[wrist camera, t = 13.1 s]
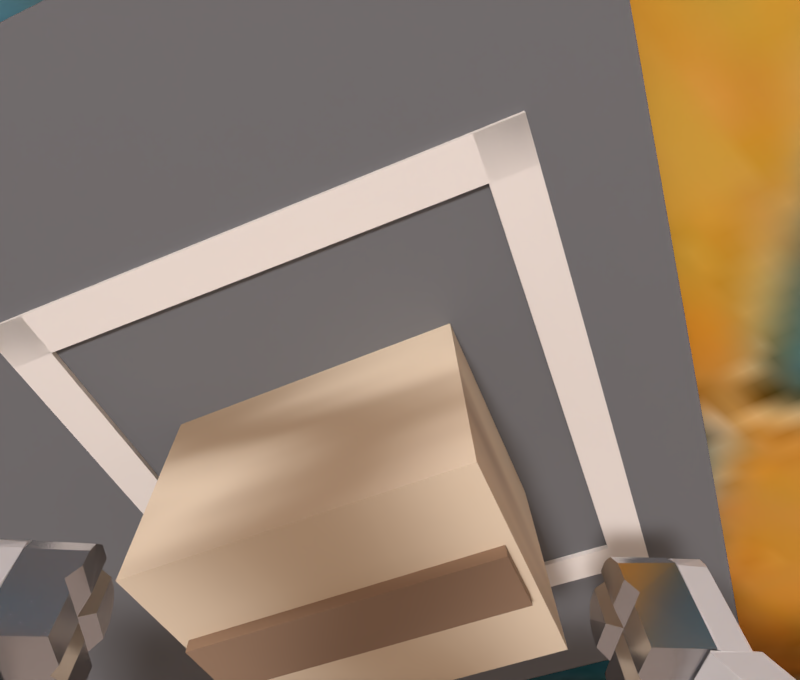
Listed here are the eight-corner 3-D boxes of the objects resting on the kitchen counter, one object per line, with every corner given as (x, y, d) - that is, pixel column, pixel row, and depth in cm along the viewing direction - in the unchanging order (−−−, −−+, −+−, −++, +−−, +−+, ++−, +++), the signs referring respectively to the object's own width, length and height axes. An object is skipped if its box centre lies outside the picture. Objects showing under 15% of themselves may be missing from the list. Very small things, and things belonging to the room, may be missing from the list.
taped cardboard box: (292, 565, 14) (268, 739, 11) (181, 424, 12) (110, 593, 9) (524, 492, 13) (570, 661, 10) (450, 322, 11) (478, 473, 8)
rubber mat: (-94, 817, 21) (-104, 835, 20) (-813, 436, 12) (-858, 454, 11) (731, 613, 16) (741, 631, 16) (572, -262, 7) (584, -274, 7)
